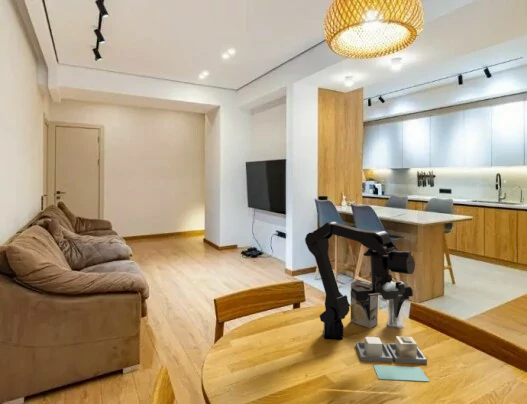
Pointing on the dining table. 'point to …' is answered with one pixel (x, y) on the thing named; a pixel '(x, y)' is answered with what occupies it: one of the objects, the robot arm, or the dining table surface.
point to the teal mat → (400, 373)
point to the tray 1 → (363, 356)
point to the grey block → (373, 346)
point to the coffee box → (357, 309)
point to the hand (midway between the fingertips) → (382, 318)
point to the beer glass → (392, 319)
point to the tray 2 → (420, 357)
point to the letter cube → (406, 347)
